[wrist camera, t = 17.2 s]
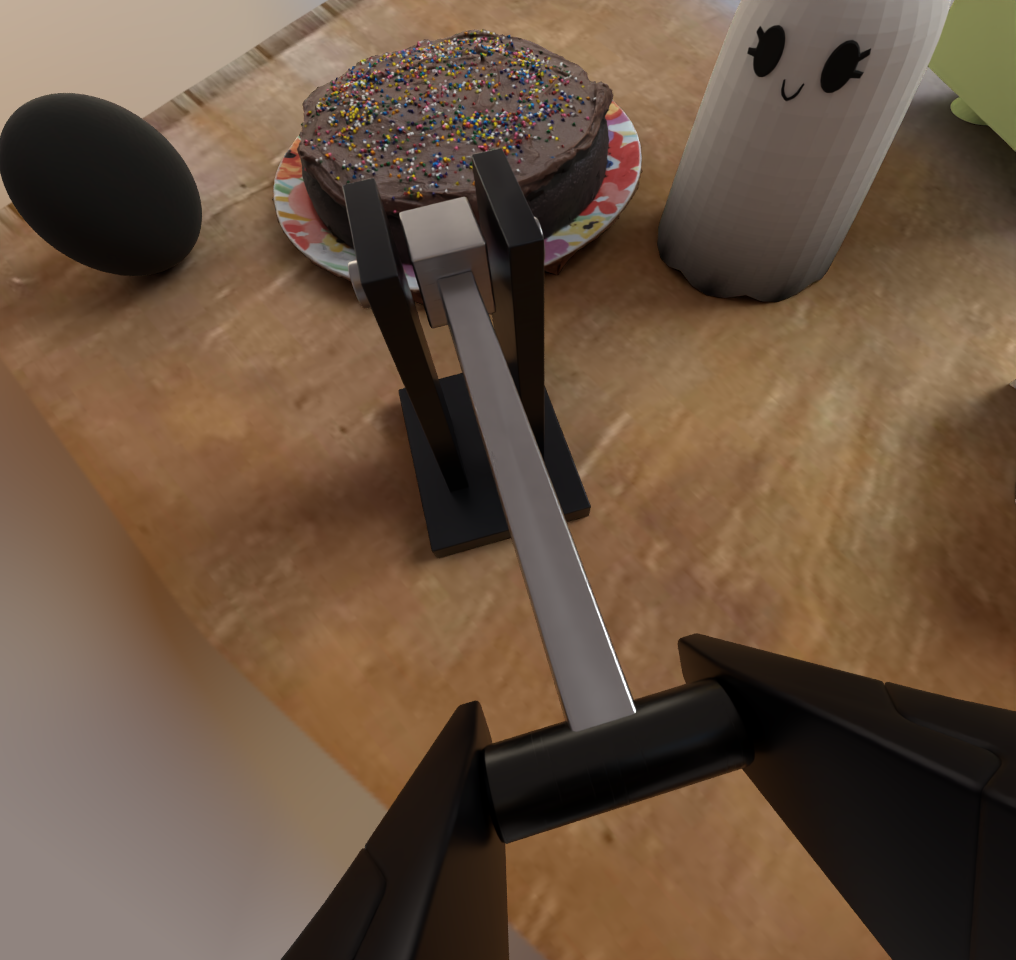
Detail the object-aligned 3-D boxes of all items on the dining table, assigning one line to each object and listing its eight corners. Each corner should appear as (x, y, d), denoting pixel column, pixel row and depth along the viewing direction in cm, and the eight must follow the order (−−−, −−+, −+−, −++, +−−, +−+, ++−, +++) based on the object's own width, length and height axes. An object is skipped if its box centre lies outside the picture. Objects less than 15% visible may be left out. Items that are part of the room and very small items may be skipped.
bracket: (589, 515, 24) (638, 297, 12) (437, 559, 24) (312, 381, 11) (533, 367, 29) (523, 89, 16) (403, 401, 28) (286, 144, 16)
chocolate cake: (412, 55, 46) (393, -41, 40) (694, 118, 39) (722, 11, 33) (205, 235, 36) (139, 142, 30) (529, 365, 29) (524, 276, 23)
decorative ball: (186, 197, 39) (78, 41, 30) (258, 247, 35) (161, 89, 26) (73, 267, 36) (-85, 119, 27) (139, 329, 32) (-16, 183, 24)
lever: (731, 767, 8) (783, 761, 6) (509, 838, 8) (490, 854, 6) (502, 258, 17) (494, 188, 15) (392, 286, 17) (369, 218, 15)
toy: (626, 264, 32) (686, -62, 19) (699, 171, 36) (792, -156, 22) (795, 329, 29) (1016, -11, 15) (855, 220, 32) (1077, -132, 19)
